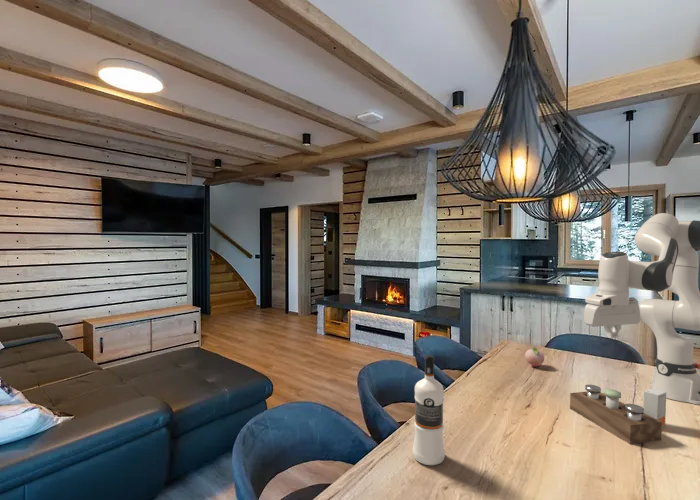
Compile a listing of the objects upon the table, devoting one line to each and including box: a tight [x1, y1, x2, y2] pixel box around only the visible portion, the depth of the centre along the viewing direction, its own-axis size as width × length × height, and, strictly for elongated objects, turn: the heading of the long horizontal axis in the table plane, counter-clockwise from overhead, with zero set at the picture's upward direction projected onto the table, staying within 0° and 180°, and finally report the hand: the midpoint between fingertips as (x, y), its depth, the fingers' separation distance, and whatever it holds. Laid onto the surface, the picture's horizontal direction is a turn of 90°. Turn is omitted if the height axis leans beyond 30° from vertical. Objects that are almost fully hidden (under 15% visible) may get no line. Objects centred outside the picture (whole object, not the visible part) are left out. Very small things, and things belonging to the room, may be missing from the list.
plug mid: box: [603, 388, 622, 410], centre depth 126 cm, size 5×5×9 cm
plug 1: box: [584, 384, 602, 399], centre depth 134 cm, size 5×5×9 cm
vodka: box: [412, 355, 446, 466], centre depth 106 cm, size 9×9×30 cm
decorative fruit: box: [524, 347, 545, 368], centre depth 181 cm, size 9×8×10 cm
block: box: [569, 391, 663, 445], centre depth 126 cm, size 12×24×6 cm, turn 11°
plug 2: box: [624, 403, 644, 421], centre depth 118 cm, size 5×5×9 cm
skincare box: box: [643, 387, 667, 428], centre depth 124 cm, size 6×4×12 cm
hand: (612, 337), depth 127 cm, fingers closed
